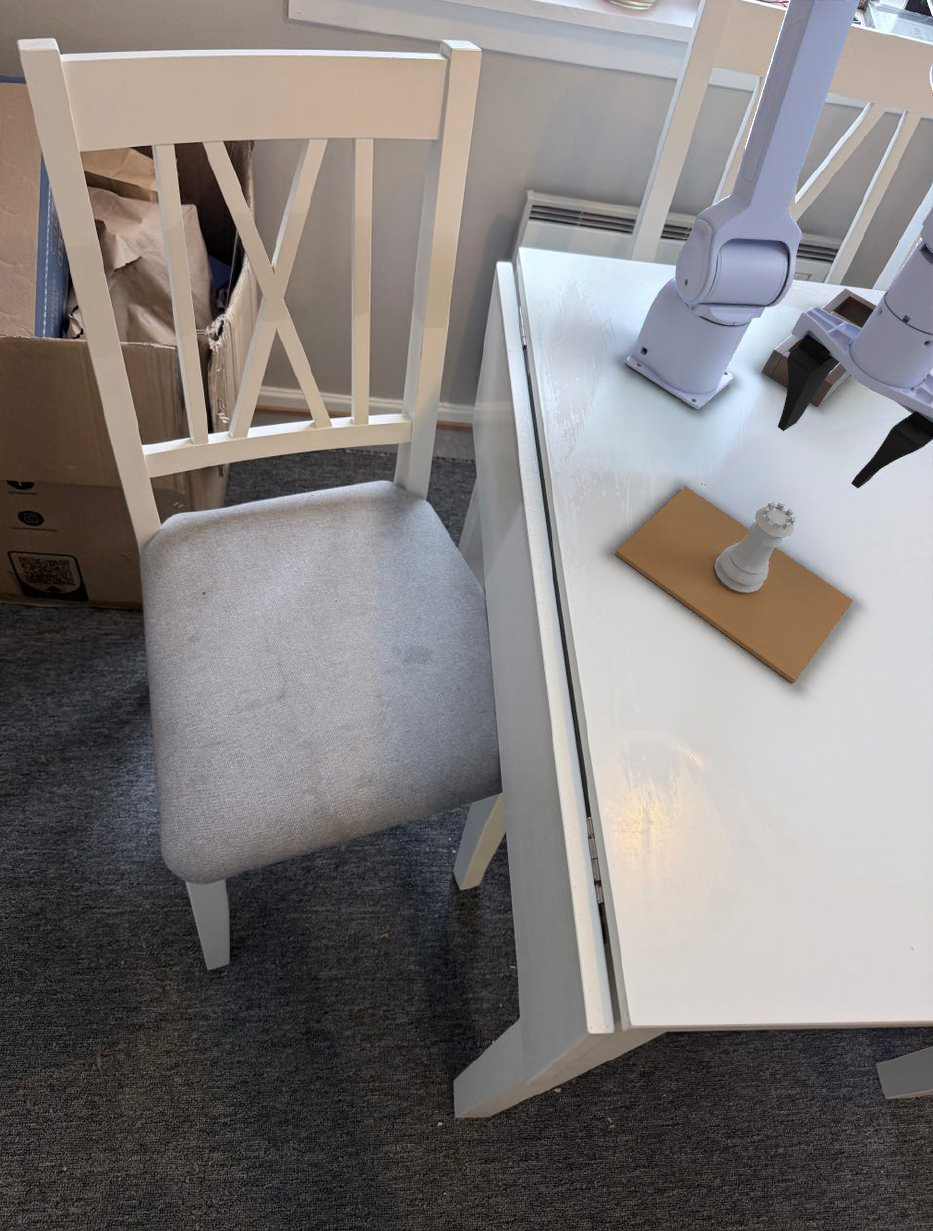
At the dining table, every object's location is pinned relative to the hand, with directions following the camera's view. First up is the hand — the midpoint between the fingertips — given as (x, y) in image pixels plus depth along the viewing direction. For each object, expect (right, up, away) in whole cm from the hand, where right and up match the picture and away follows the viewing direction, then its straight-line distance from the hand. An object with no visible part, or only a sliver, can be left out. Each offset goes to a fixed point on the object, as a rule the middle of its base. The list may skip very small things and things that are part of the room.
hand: (822, 452), depth 70 cm
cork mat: (-6, -10, +4) cm, 13 cm away
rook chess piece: (-6, -10, +4) cm, 12 cm away
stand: (+12, +17, +28) cm, 34 cm away
